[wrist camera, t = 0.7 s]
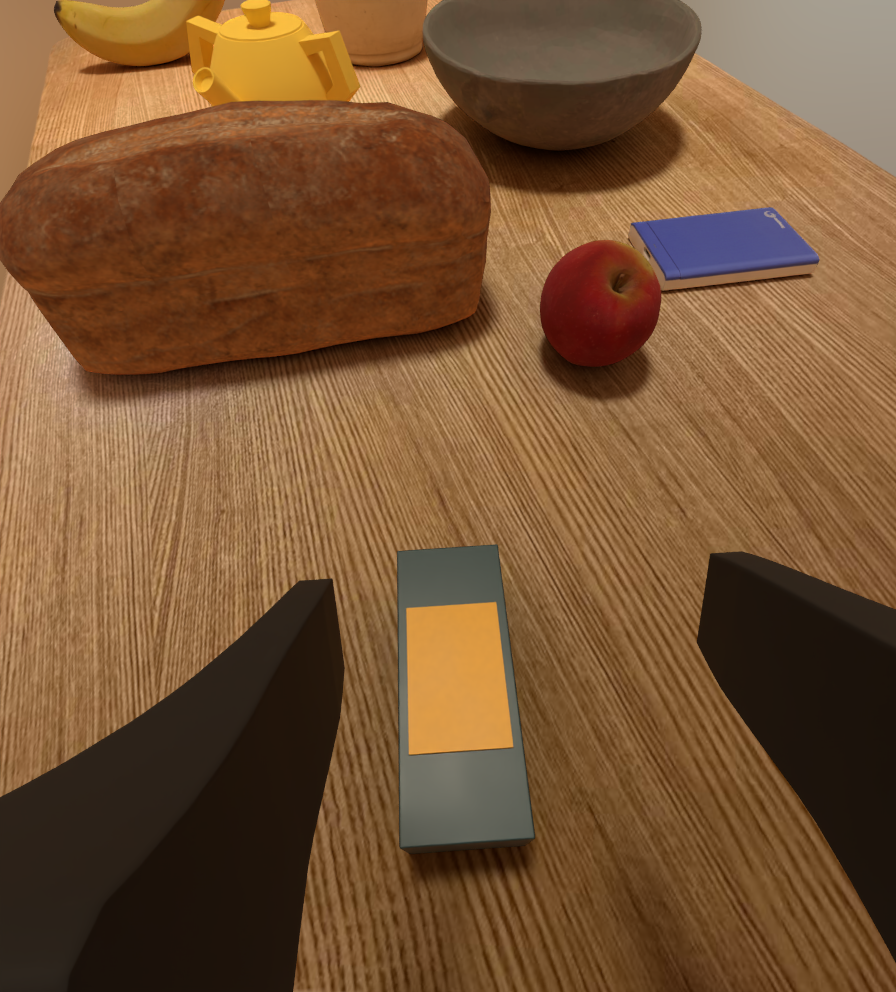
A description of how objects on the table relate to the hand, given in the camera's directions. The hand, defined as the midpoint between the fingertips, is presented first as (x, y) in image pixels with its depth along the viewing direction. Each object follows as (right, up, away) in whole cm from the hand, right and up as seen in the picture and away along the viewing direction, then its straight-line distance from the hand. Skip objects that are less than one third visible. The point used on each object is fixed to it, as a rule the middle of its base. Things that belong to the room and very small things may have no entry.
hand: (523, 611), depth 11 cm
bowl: (+9, +42, +50) cm, 66 cm away
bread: (-14, +16, +33) cm, 39 cm away
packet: (-1, -7, +16) cm, 17 cm away
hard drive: (+21, +22, +36) cm, 47 cm away
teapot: (-21, +42, +52) cm, 70 cm away
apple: (+9, +12, +30) cm, 33 cm away
